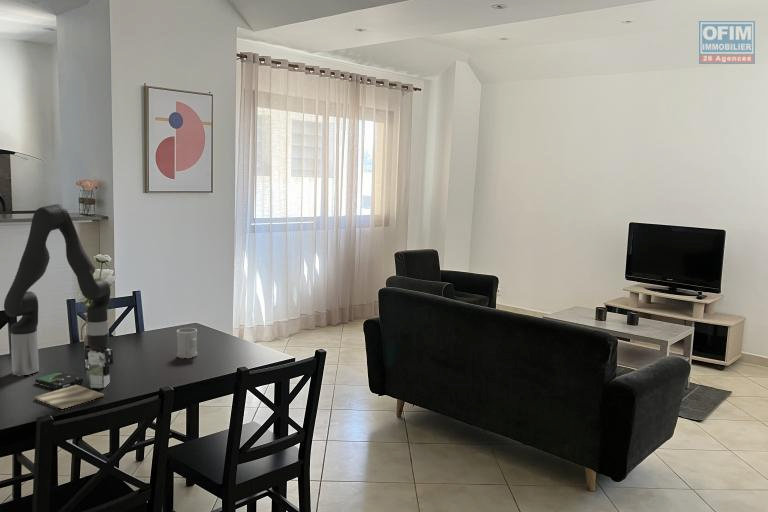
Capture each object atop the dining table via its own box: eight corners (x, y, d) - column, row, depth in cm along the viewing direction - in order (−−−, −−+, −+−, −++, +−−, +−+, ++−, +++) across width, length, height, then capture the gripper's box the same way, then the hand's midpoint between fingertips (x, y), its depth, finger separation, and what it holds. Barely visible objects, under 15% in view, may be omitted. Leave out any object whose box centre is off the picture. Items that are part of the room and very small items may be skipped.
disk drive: (84, 384, 242) (59, 377, 249) (83, 377, 242) (59, 370, 248) (59, 392, 233) (34, 385, 240) (59, 385, 233) (34, 378, 239)
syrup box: (110, 383, 242) (109, 347, 240) (104, 389, 236) (102, 352, 234) (95, 383, 242) (94, 347, 240) (88, 388, 236) (87, 351, 234)
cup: (203, 353, 285) (203, 328, 283) (196, 359, 276) (195, 333, 274) (182, 352, 286) (181, 327, 284) (173, 358, 277) (173, 332, 275)
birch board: (34, 399, 223) (34, 396, 223) (76, 387, 237) (76, 384, 237) (62, 410, 215) (61, 407, 214) (104, 397, 228) (103, 394, 228)
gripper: (77, 331, 237) (79, 372, 239) (100, 337, 229) (101, 379, 231) (95, 327, 243) (97, 367, 245) (118, 333, 236) (119, 374, 238)
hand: (99, 373), depth 238 cm, fingers open, 8 cm apart
